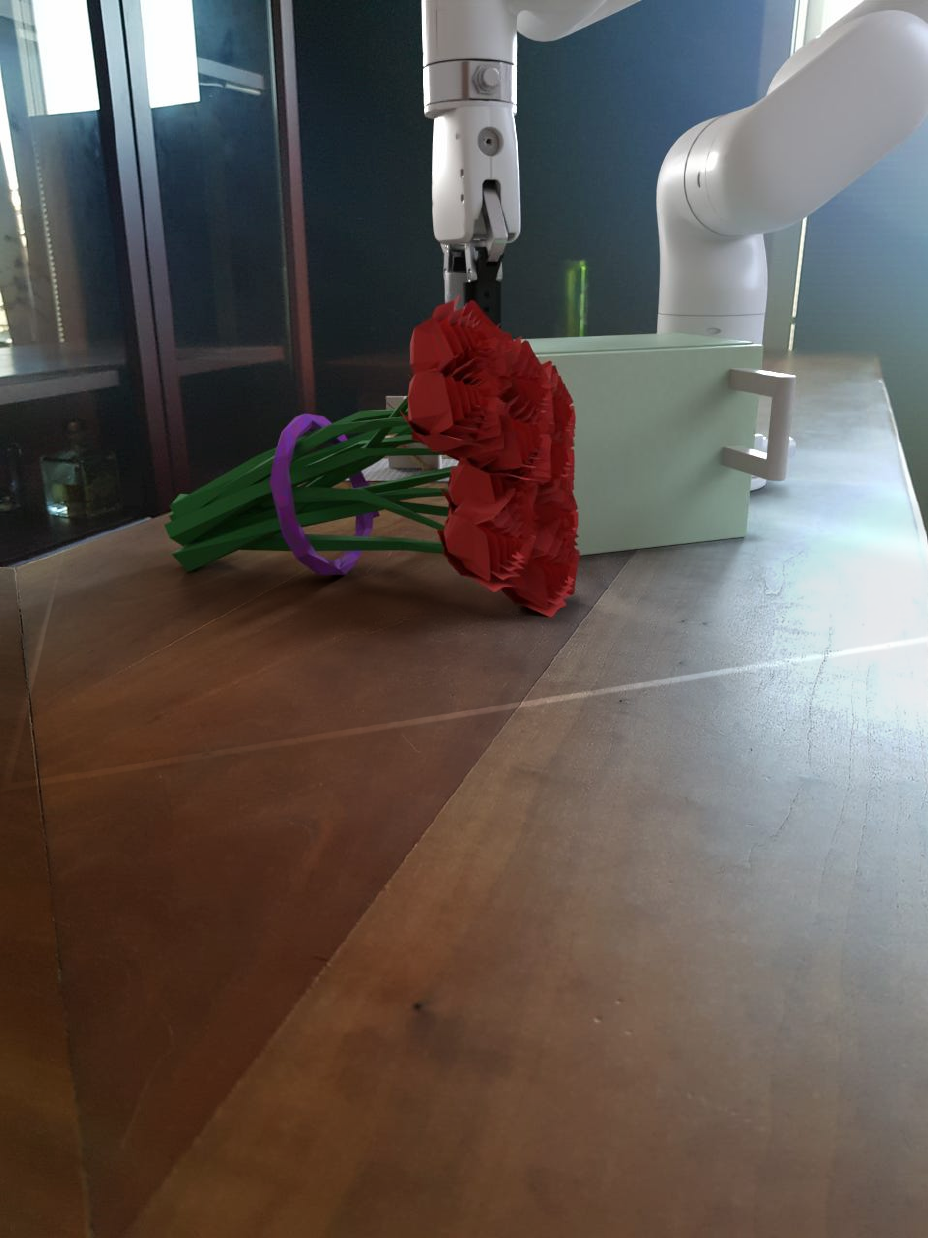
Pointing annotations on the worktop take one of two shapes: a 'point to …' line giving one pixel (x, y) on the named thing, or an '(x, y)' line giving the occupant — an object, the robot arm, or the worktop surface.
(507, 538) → the bouquet
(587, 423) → the door
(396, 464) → the architectural model
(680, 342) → the cupboard
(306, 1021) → the worktop surface
